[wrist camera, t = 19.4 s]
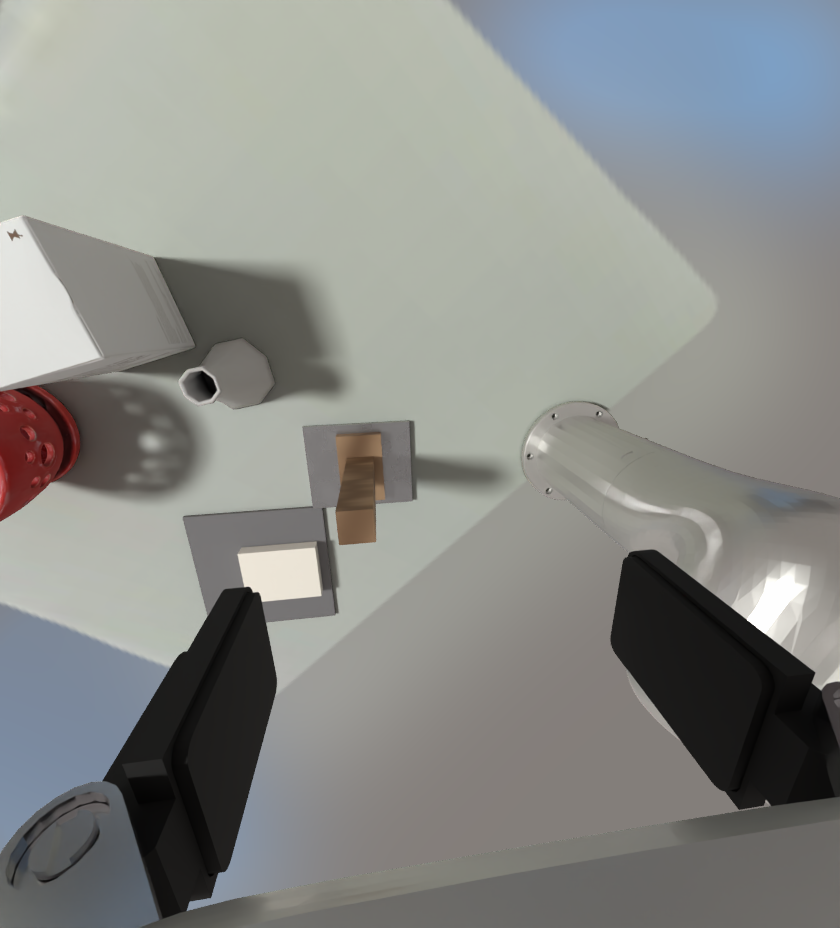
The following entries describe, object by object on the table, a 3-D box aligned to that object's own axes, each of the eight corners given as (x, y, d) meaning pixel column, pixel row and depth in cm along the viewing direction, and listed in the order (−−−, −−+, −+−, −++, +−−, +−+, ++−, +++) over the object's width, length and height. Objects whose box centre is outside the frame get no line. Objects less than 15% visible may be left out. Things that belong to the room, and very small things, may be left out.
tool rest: (408, 420, 45) (409, 421, 45) (411, 499, 48) (412, 501, 48) (303, 426, 44) (302, 427, 43) (313, 506, 47) (313, 508, 47)
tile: (241, 546, 48) (316, 540, 48) (251, 594, 50) (323, 587, 51) (237, 554, 46) (314, 547, 47) (247, 603, 48) (321, 596, 49)
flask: (287, 386, 43) (263, 401, 33) (233, 420, 43) (194, 444, 34) (245, 325, 40) (206, 323, 31) (187, 362, 41) (131, 370, 31)
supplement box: (63, 281, 37) (-126, 250, 23) (154, 254, 37) (21, 207, 23) (115, 374, 40) (-25, 397, 26) (198, 349, 40) (105, 359, 26)
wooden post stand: (380, 431, 45) (384, 478, 30) (384, 495, 47) (389, 566, 33) (336, 434, 44) (318, 483, 30) (343, 498, 47) (330, 572, 32)
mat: (322, 505, 47) (321, 507, 47) (335, 613, 53) (335, 615, 52) (184, 516, 46) (182, 517, 45) (211, 625, 51) (210, 627, 51)
